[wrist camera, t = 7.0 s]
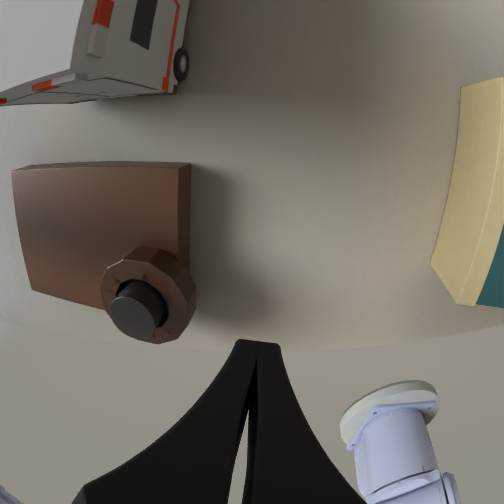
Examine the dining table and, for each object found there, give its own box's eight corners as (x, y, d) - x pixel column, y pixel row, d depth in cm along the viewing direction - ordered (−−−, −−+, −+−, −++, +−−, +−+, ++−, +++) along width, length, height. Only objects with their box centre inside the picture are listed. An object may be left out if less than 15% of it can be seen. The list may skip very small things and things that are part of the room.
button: (167, 325, 16) (157, 343, 15) (126, 316, 17) (114, 333, 15) (164, 284, 15) (151, 302, 14) (120, 277, 15) (105, 292, 14)
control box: (204, 314, 20) (190, 351, 17) (47, 281, 21) (20, 304, 17) (209, 164, 16) (188, 174, 12) (30, 165, 17) (-6, 176, 13)
